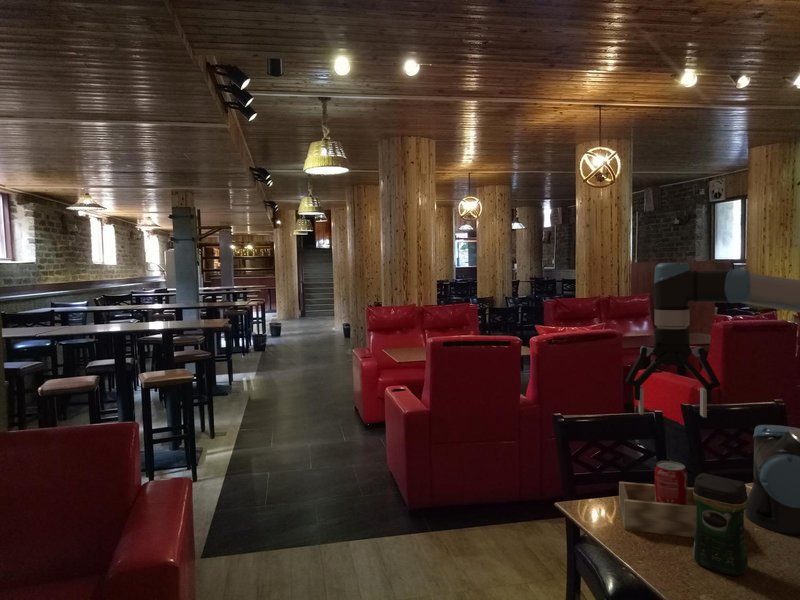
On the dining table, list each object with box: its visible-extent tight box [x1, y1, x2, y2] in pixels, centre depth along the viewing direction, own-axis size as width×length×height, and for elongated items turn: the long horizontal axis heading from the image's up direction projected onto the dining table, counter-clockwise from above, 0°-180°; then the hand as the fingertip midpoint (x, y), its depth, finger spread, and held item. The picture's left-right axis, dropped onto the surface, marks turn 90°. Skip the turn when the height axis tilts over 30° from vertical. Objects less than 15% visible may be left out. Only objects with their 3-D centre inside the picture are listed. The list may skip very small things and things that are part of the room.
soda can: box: [654, 460, 688, 505], centre depth 129 cm, size 7×7×13 cm
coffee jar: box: [692, 472, 749, 576], centre depth 111 cm, size 10×8×19 cm
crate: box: [618, 481, 697, 538], centre depth 129 cm, size 22×12×7 cm, turn 73°
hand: (671, 414), depth 128 cm, fingers open, 13 cm apart
